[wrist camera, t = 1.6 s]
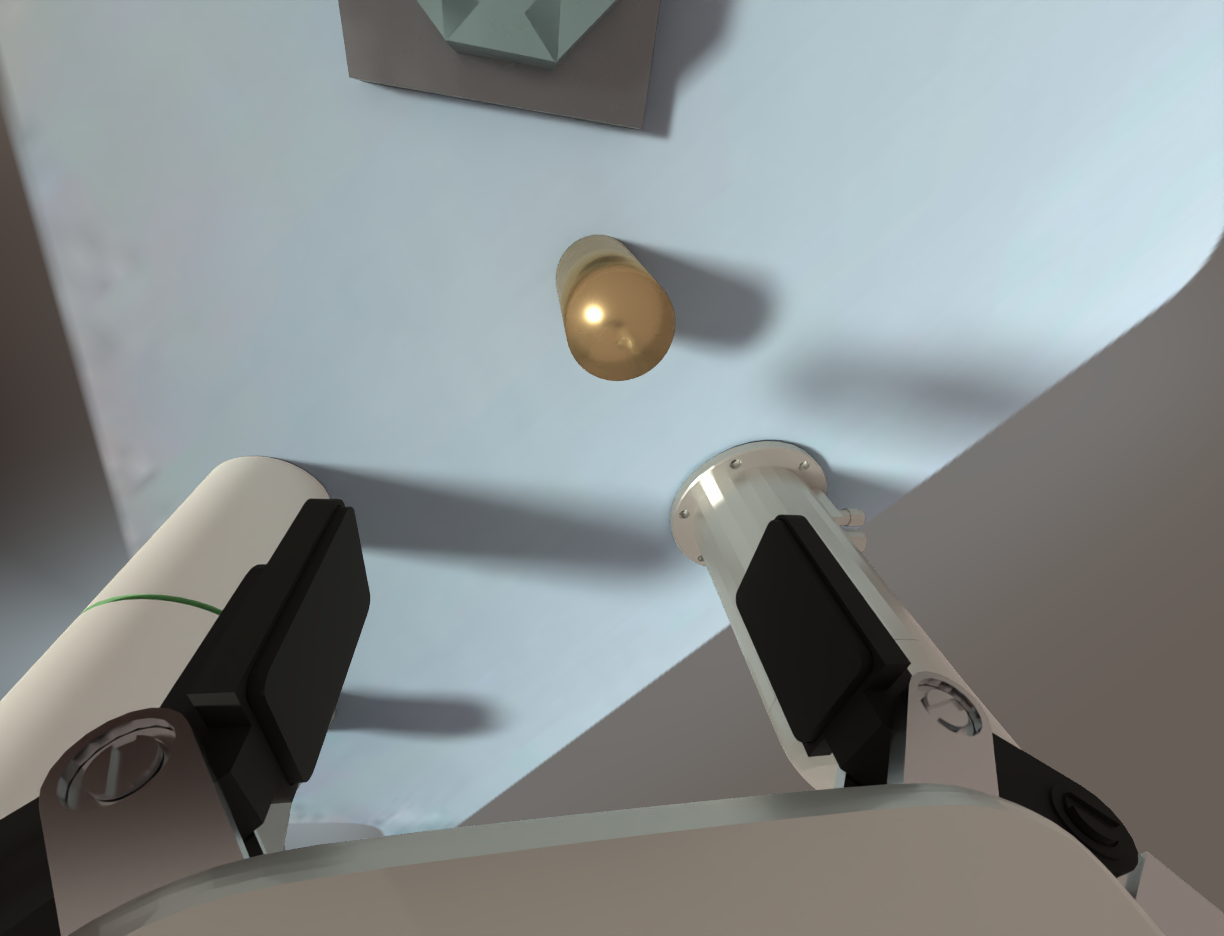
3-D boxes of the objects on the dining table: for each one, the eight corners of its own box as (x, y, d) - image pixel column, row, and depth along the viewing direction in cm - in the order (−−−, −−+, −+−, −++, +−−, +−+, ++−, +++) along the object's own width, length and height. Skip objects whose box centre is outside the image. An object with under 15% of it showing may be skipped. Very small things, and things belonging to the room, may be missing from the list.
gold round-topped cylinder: (644, 240, 25) (685, 278, 19) (631, 325, 28) (663, 383, 21) (558, 229, 24) (571, 265, 18) (553, 318, 27) (561, 377, 20)
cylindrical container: (212, 531, 32) (-333, 1229, 11) (200, 445, 28) (-630, 1247, 8) (330, 546, 34) (46, 1151, 14) (333, 468, 30) (-49, 1138, 10)
